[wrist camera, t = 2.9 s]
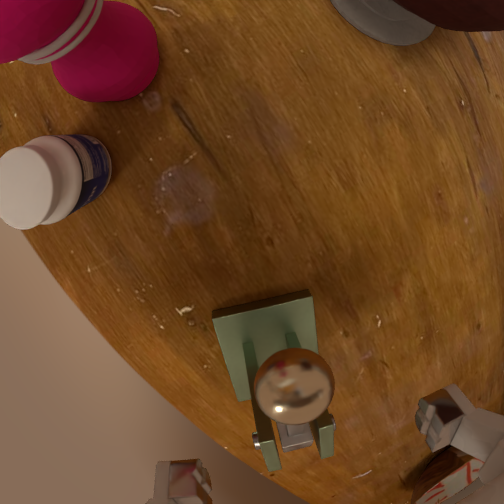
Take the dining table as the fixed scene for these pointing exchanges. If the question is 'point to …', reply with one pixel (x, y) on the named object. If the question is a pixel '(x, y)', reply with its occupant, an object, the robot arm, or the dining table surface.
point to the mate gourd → (420, 17)
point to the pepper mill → (83, 44)
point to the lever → (294, 393)
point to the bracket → (260, 348)
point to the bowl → (446, 477)
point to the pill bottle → (51, 178)
